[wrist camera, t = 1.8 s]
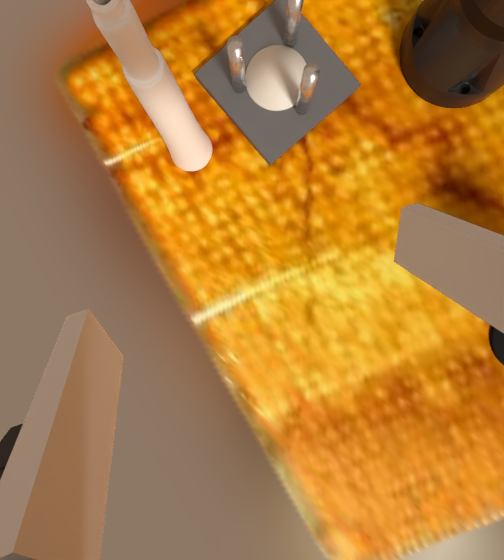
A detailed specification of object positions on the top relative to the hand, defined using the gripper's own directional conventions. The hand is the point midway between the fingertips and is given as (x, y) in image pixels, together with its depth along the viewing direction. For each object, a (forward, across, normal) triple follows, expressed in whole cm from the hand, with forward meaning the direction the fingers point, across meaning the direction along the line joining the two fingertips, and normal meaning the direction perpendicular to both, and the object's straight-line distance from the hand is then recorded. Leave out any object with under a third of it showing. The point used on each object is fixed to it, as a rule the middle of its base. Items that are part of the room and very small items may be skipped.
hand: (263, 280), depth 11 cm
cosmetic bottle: (+34, +1, 0) cm, 34 cm away
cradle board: (+35, +15, +6) cm, 38 cm away
